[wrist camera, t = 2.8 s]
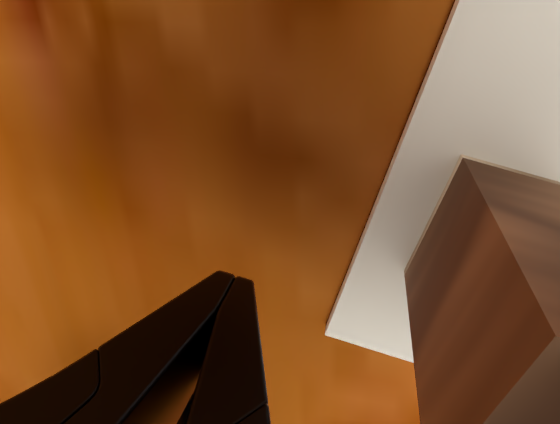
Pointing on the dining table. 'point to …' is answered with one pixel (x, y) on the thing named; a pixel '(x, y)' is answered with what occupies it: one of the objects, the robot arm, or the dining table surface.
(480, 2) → the mat
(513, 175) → the walnut block
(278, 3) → the dining table surface
